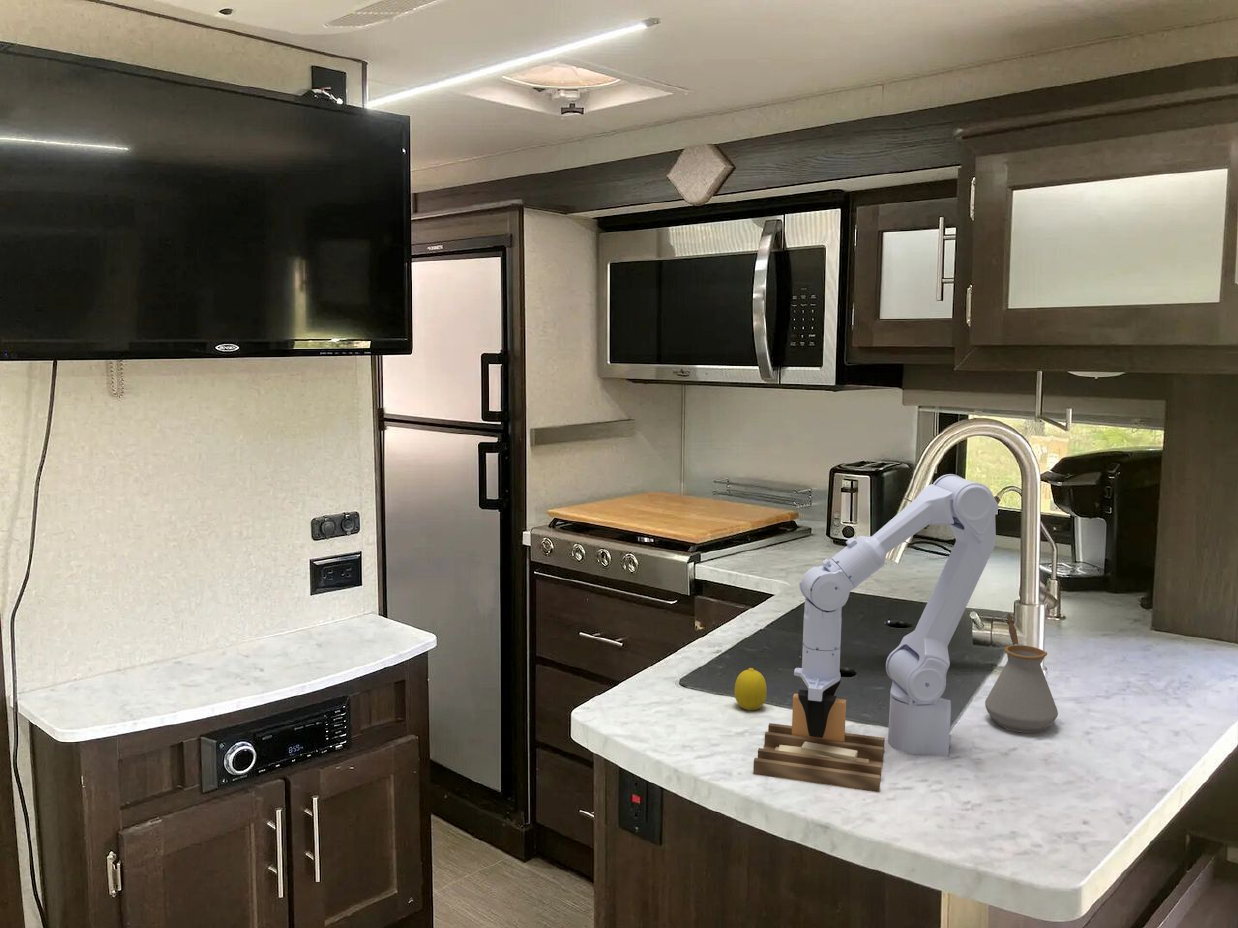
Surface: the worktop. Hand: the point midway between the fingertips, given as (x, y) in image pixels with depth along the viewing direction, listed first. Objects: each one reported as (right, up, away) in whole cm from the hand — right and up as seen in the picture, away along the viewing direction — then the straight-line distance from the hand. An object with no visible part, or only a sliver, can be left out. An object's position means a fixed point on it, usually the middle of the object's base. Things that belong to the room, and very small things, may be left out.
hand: (818, 728), depth 154 cm
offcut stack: (-1, -4, -5) cm, 6 cm away
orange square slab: (0, -3, 0) cm, 3 cm away
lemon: (-8, -2, +17) cm, 19 cm away
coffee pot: (+38, -2, +18) cm, 42 cm away
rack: (0, -5, -4) cm, 6 cm away
